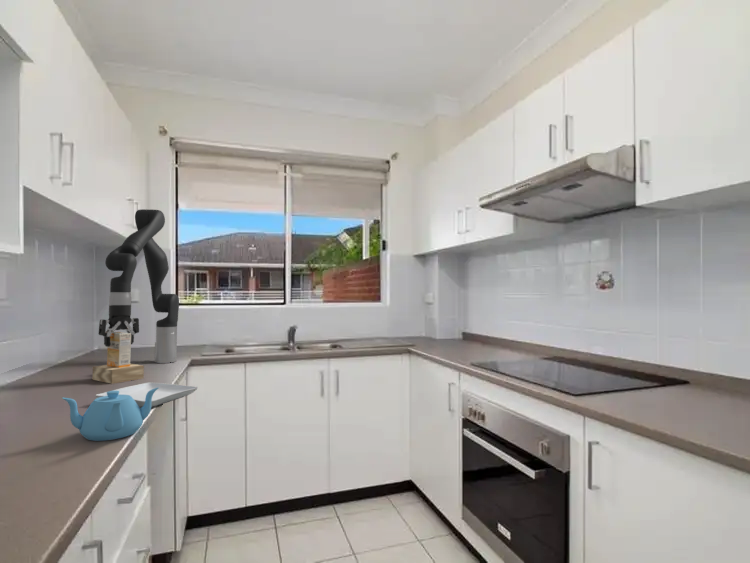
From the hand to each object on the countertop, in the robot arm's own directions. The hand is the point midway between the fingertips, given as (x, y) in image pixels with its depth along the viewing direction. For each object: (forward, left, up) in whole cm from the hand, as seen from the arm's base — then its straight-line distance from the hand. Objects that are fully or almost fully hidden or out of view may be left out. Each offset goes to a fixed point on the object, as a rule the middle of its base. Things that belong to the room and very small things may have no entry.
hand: (119, 345), depth 168 cm
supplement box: (0, 0, -8) cm, 8 cm away
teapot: (+66, -37, -13) cm, 76 cm away
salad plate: (+41, -12, -14) cm, 45 cm away
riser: (0, 0, -13) cm, 13 cm away
